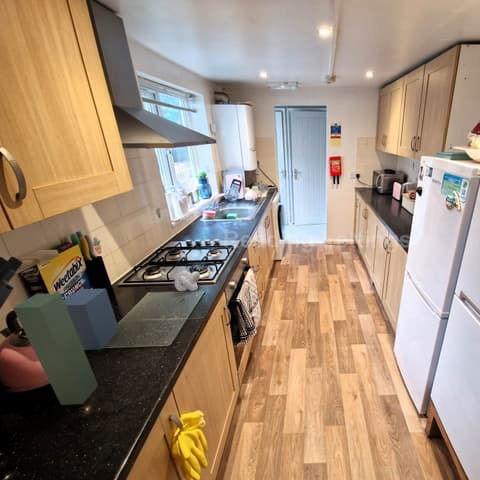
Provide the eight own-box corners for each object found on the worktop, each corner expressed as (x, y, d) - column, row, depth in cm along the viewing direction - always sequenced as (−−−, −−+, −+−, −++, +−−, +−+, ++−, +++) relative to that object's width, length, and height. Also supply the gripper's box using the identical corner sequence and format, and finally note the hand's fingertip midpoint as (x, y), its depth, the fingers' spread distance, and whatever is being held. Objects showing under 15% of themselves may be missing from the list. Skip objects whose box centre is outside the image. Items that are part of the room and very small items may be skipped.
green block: (62, 407, 75) (12, 307, 62) (78, 388, 80) (36, 293, 68) (84, 406, 75) (39, 307, 63) (99, 387, 81) (60, 293, 68)
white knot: (192, 280, 141) (189, 265, 138) (208, 286, 136) (205, 270, 133) (172, 290, 132) (169, 274, 129) (188, 297, 127) (185, 280, 124)
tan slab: (42, 255, 80) (39, 249, 79) (59, 255, 80) (57, 249, 79) (-29, 287, 63) (-33, 280, 62) (-7, 287, 63) (-10, 280, 63)
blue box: (75, 352, 94) (55, 305, 86) (96, 333, 103) (80, 289, 96) (102, 351, 94) (84, 304, 87) (120, 332, 104) (105, 288, 96)
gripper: (-49, 347, 52) (29, 251, 67) (-133, 349, 51) (-35, 251, 66) (-12, 357, 58) (52, 267, 72) (-88, 359, 57) (-7, 267, 72)
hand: (10, 260), depth 69 cm, fingers closed on tan slab, 2 cm apart
